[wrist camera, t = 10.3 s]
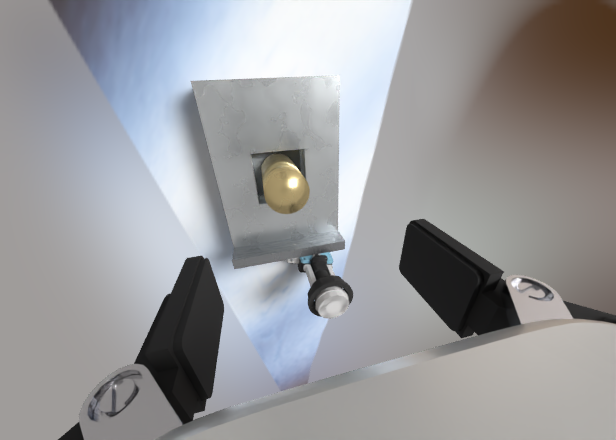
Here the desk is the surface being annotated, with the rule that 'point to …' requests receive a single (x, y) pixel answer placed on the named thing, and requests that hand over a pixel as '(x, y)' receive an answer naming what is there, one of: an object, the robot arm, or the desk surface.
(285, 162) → the gold domed cylinder
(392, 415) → the robot arm
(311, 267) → the push button
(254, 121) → the jig
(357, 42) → the desk surface
